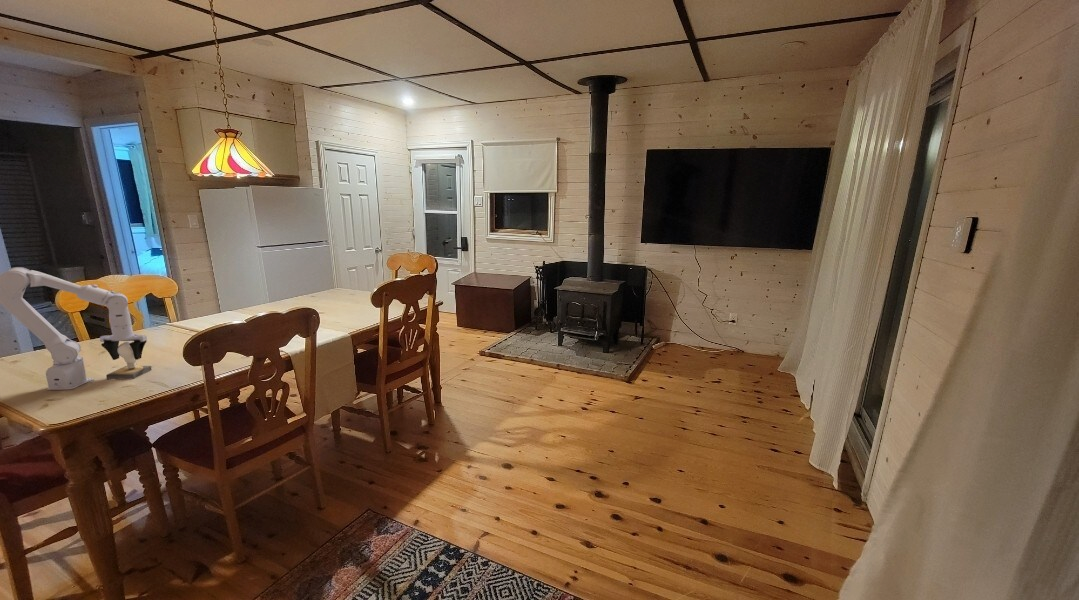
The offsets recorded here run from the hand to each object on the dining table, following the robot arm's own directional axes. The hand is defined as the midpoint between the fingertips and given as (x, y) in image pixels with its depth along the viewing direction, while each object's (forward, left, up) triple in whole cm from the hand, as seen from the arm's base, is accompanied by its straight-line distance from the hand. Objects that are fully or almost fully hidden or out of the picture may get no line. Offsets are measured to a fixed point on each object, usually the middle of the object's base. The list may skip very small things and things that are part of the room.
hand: (127, 358), depth 164 cm
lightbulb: (+1, -1, -5) cm, 5 cm away
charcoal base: (0, 0, -6) cm, 6 cm away
